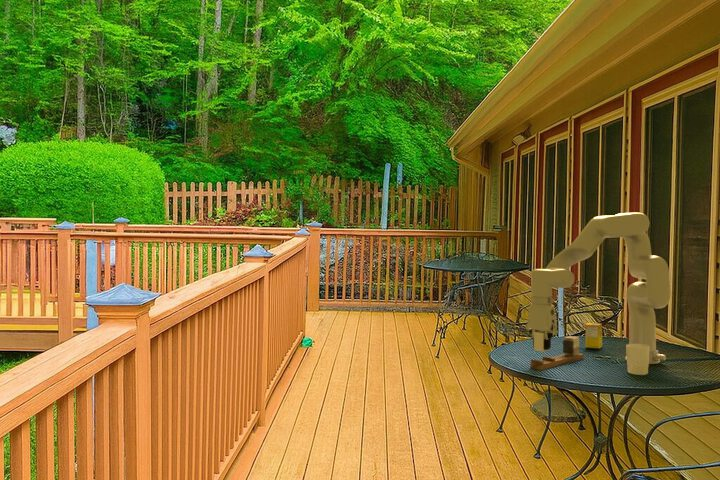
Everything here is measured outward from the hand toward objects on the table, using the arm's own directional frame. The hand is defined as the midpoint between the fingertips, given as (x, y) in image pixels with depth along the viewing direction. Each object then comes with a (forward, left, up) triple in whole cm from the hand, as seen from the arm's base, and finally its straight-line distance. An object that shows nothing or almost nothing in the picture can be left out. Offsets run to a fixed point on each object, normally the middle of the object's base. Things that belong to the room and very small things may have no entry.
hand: (541, 348), depth 227 cm
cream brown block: (0, 0, -1) cm, 1 cm away
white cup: (-28, -19, -8) cm, 35 cm away
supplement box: (+6, -48, -8) cm, 49 cm away
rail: (0, -11, -7) cm, 13 cm away
